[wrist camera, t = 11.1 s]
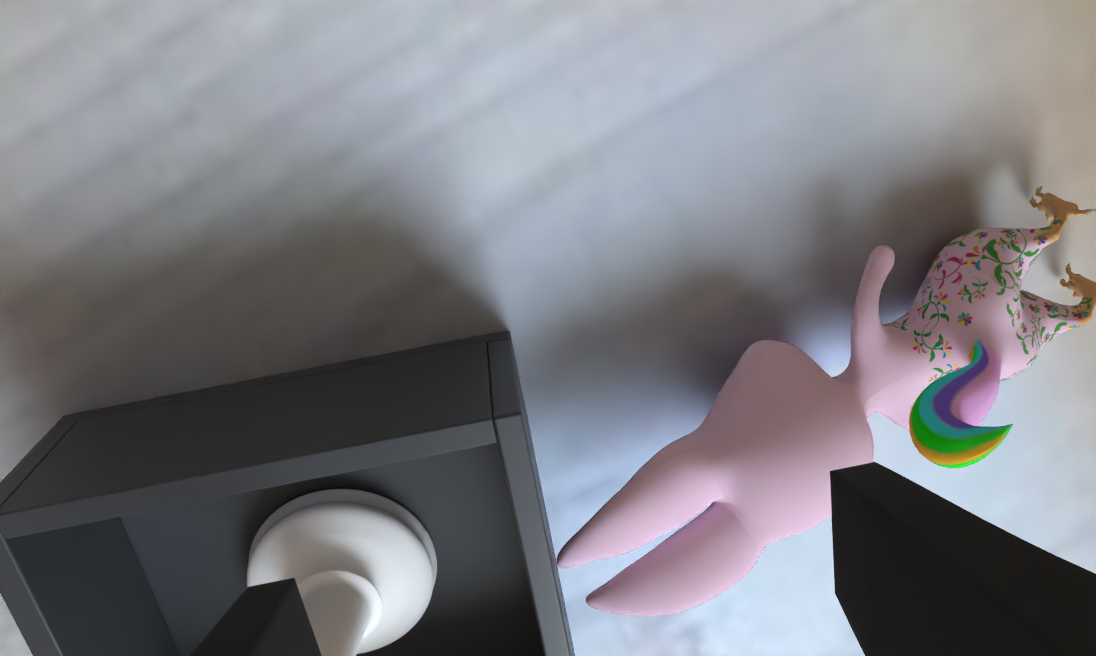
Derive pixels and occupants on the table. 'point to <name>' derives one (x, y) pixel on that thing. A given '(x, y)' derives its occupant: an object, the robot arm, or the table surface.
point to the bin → (269, 483)
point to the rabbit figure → (831, 419)
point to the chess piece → (349, 566)
